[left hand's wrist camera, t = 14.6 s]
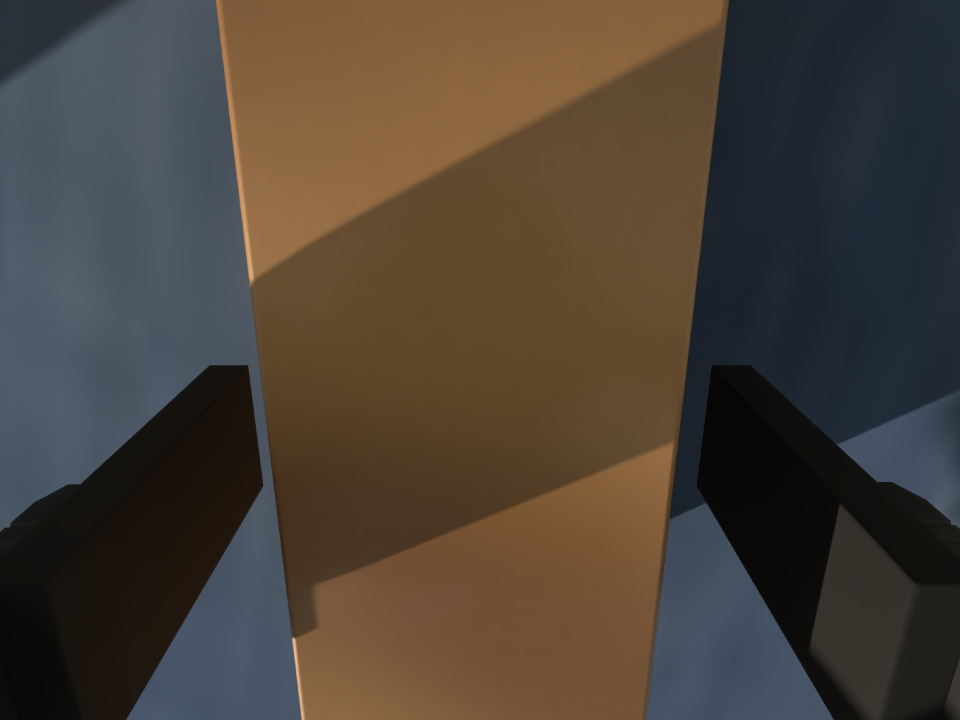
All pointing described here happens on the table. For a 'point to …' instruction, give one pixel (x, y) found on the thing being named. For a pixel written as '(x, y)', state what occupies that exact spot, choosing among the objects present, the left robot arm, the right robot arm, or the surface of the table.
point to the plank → (473, 336)
